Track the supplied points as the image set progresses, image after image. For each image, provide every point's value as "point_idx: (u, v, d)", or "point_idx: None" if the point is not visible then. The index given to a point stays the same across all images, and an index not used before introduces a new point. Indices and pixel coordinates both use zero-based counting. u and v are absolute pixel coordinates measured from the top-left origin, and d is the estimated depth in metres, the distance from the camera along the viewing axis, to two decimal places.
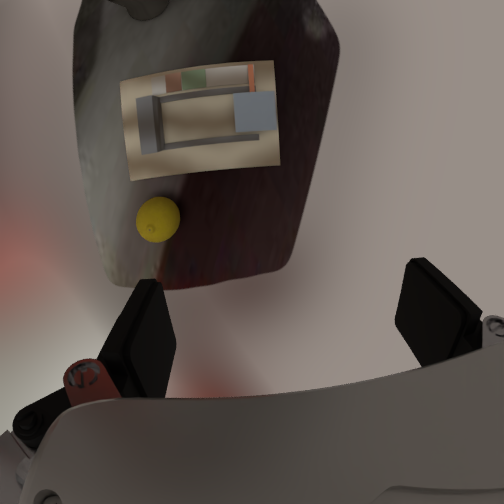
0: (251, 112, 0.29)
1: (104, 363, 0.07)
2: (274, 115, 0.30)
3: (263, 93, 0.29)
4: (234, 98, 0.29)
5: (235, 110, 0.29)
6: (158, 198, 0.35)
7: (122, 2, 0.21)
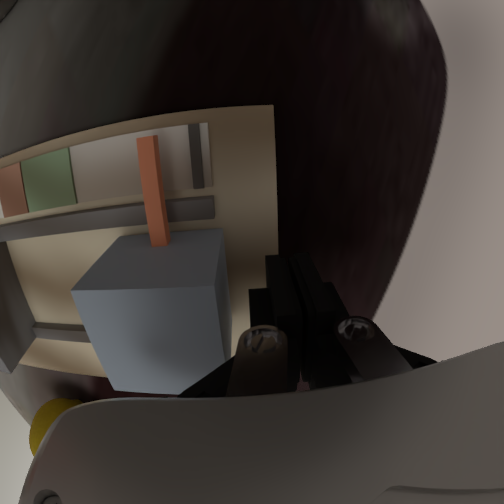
0: (141, 352, 0.09)
1: None
2: (219, 362, 0.09)
3: (170, 296, 0.08)
4: (79, 307, 0.08)
5: (93, 342, 0.08)
6: (51, 419, 0.14)
7: None
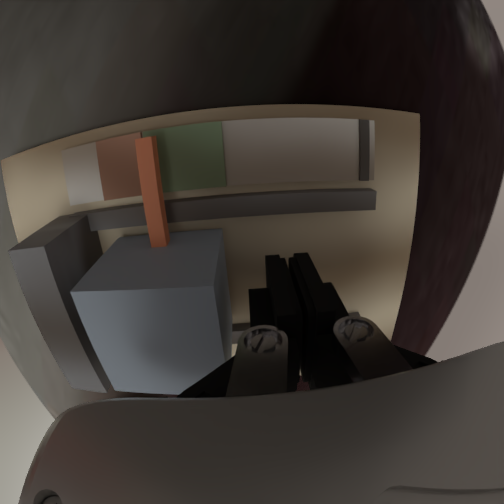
0: (141, 353, 0.09)
1: None
2: (219, 362, 0.09)
3: (170, 296, 0.08)
4: (79, 308, 0.08)
5: (93, 343, 0.08)
6: None
7: None
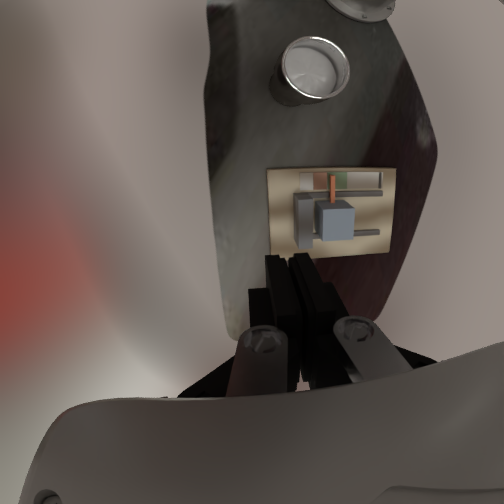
0: (335, 226, 0.38)
1: None
2: (352, 228, 0.39)
3: (346, 210, 0.38)
4: (324, 214, 0.38)
5: (324, 224, 0.38)
6: None
7: None
